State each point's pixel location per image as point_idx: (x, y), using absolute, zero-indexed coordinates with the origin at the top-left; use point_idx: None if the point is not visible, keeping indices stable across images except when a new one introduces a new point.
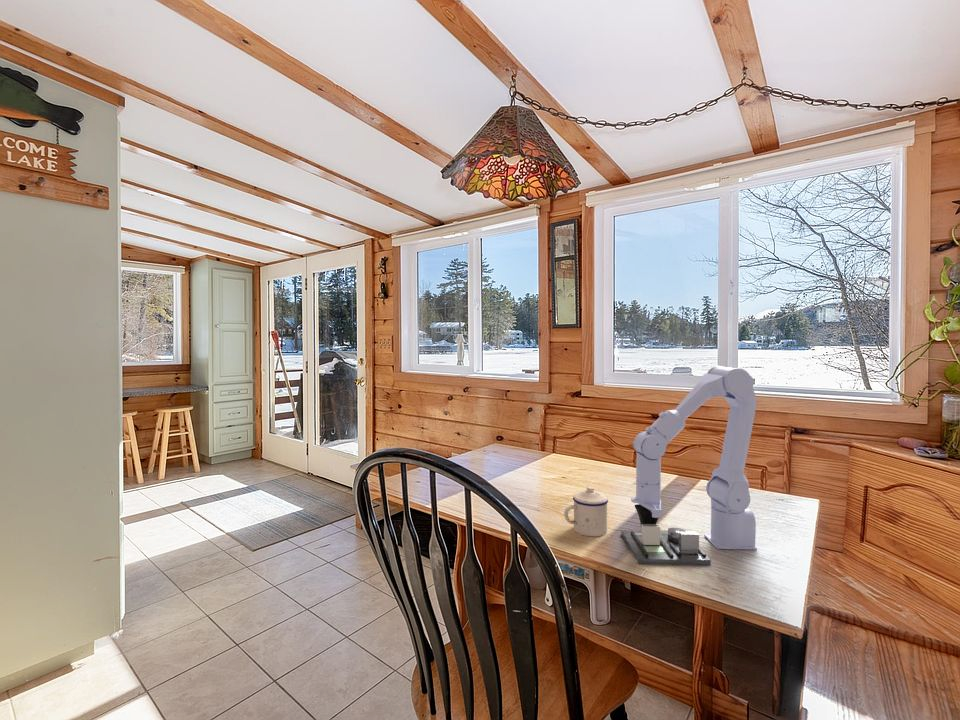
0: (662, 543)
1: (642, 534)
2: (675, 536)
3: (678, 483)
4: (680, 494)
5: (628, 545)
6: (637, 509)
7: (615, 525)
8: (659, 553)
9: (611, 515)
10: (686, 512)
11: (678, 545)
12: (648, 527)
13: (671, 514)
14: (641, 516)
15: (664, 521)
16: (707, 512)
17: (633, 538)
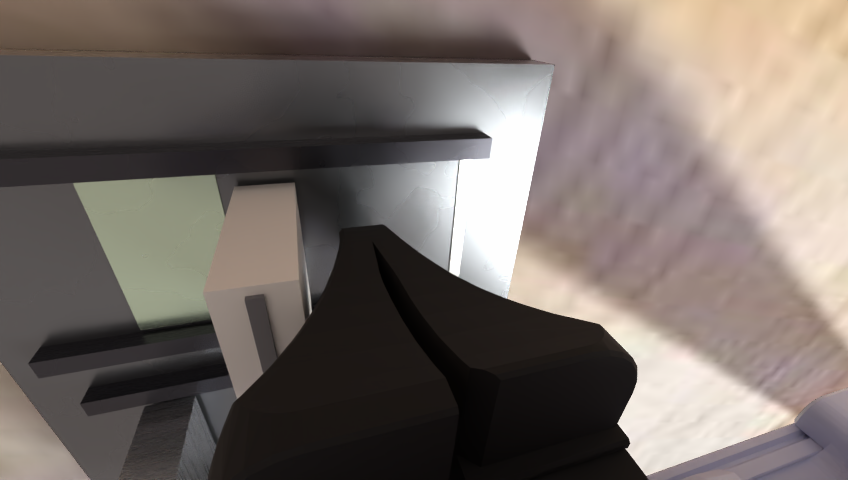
0: None
1: (253, 224)
2: None
3: (842, 386)
4: (783, 388)
5: (294, 56)
6: (379, 403)
7: (679, 59)
8: (95, 283)
9: (807, 75)
10: (665, 400)
11: None
12: (220, 338)
13: (672, 359)
14: (270, 369)
15: (626, 332)
16: (639, 447)
17: (384, 131)
